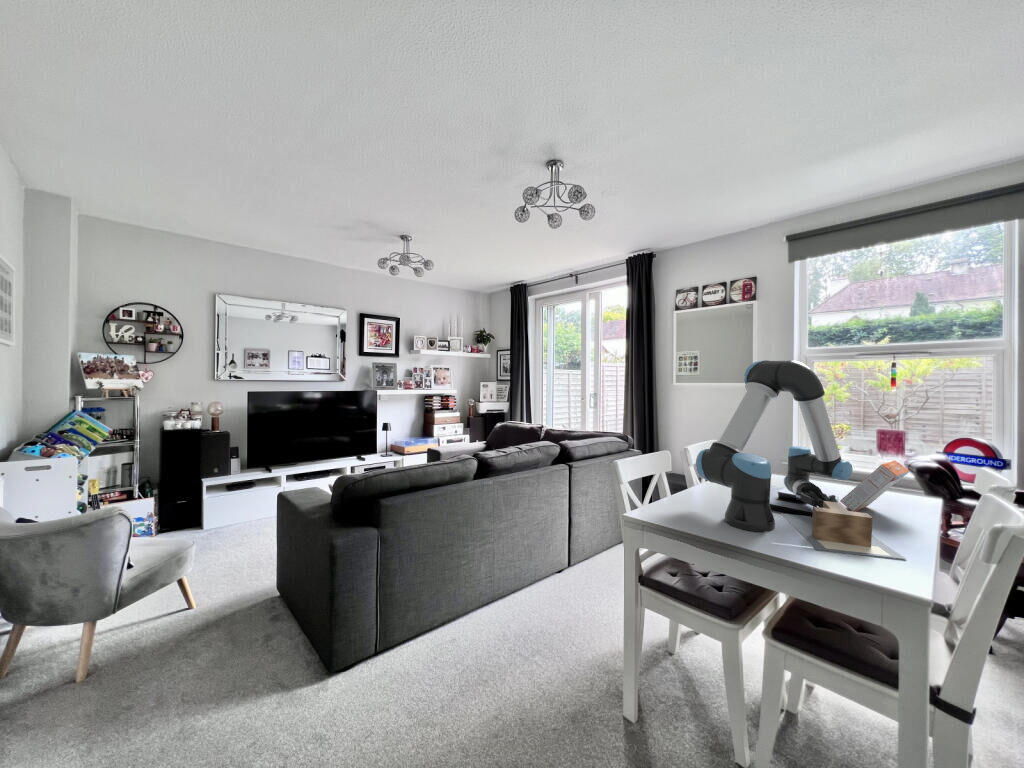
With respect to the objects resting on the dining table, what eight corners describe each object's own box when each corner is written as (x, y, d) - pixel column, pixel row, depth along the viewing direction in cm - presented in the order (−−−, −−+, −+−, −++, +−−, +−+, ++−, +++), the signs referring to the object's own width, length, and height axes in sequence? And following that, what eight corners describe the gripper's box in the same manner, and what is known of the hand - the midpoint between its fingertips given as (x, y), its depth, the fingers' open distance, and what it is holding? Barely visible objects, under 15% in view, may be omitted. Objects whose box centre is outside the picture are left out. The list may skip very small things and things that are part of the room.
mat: (816, 550, 126) (816, 548, 126) (780, 514, 157) (780, 513, 157) (906, 560, 120) (906, 559, 120) (850, 521, 151) (850, 520, 151)
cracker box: (852, 494, 171) (895, 459, 160) (867, 507, 167) (911, 471, 156) (838, 500, 164) (881, 463, 153) (852, 513, 160) (898, 476, 149)
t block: (815, 539, 134) (816, 510, 133) (805, 524, 146) (806, 498, 146) (871, 547, 128) (872, 517, 128) (856, 531, 140) (857, 504, 140)
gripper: (826, 502, 164) (858, 524, 141) (787, 499, 167) (812, 520, 144) (827, 483, 163) (859, 502, 141) (788, 480, 167) (813, 498, 144)
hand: (835, 511), depth 143 cm, fingers closed
